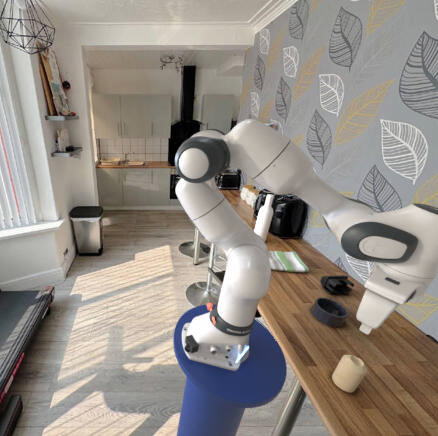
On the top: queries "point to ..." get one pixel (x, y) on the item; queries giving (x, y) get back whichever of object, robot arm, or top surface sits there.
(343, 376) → the candle
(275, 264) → the dish towel
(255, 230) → the bottle
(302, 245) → the top surface
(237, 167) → the robot arm
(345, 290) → the end cap
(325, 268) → the top surface
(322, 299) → the holder
